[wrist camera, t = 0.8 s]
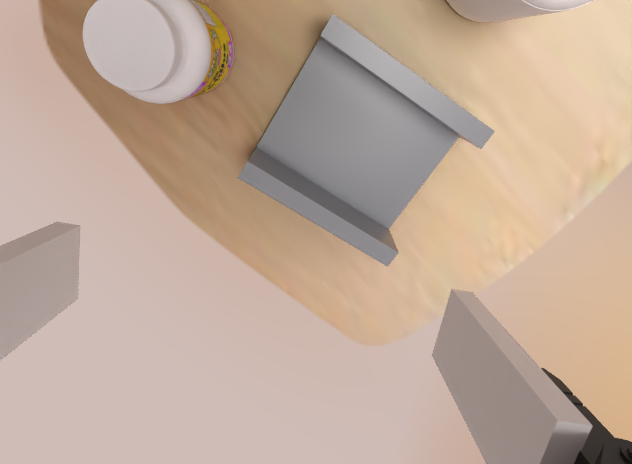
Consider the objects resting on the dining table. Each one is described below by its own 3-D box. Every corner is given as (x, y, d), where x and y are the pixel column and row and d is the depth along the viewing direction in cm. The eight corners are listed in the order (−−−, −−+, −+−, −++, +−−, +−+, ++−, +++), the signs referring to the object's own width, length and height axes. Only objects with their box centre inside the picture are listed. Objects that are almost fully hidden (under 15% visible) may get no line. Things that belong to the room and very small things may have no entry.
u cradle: (329, 20, 32) (332, 13, 27) (467, 120, 35) (494, 131, 30) (248, 159, 36) (237, 177, 31) (377, 238, 39) (387, 266, 34)
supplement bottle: (202, 110, 35) (144, 137, 23) (135, 51, 33) (36, 48, 21) (253, 47, 33) (218, 41, 21) (186, -20, 31) (107, -66, 19)
